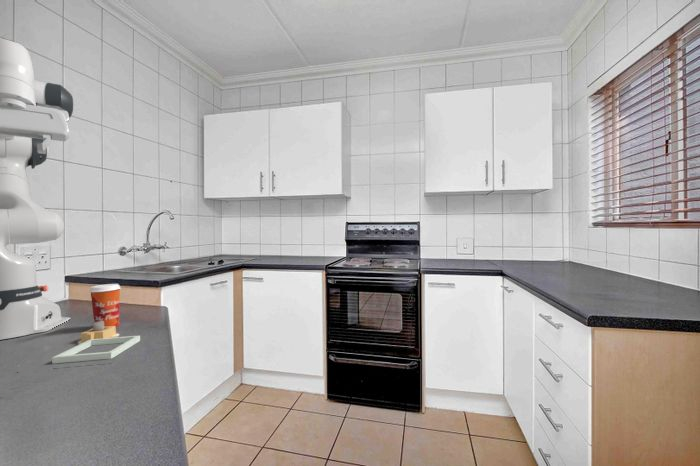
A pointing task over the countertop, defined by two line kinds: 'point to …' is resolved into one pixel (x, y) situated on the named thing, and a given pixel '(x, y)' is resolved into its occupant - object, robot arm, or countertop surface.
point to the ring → (98, 333)
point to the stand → (99, 329)
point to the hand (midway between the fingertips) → (13, 150)
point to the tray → (70, 357)
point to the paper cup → (106, 303)
